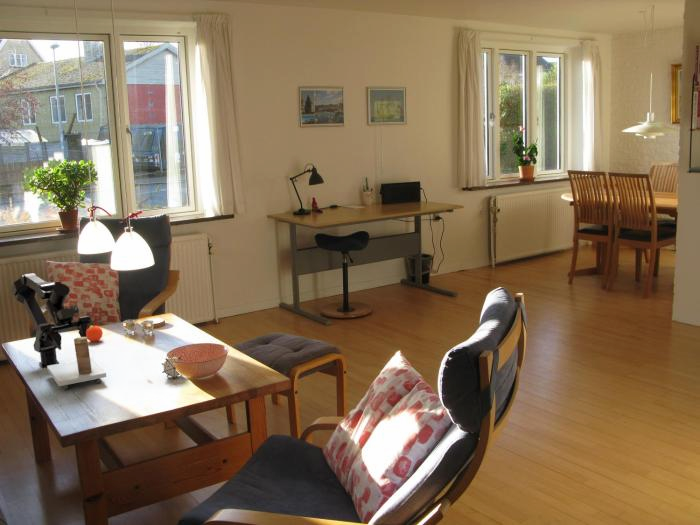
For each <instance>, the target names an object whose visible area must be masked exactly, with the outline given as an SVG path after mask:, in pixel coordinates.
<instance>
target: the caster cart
mask: <svg viewBox="0 0 700 525" xmlns="http://www.w3.org/2000/svg"><path fill="white" fill-rule="evenodd" d="M90 362H91V369H92V372H91V373H88V374H83V375H81V374H79V372H78V365H77V360H72V361H71V360H70V361H67V362H59V364H55V365H49V366H47V367H46V368H47V369H46V370H47V372H48V373H49V374H50V376H51V377H52V379H53V380H54V382H55V383H56V385H57V386H58V387H61V386H62V388H63V391H68V390H69V385H72V384H77V383H83V382H88V381H93V380H95V384H96V385H97V384H101V379H103V378H107V373H106V371H105V370H104V369H103V368H102V367H101V366H100V365H99V364H98V362H96V361H95V359H93V357H90Z"/></svg>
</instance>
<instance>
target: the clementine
mask: <svg viewBox="0 0 700 525" xmlns="http://www.w3.org/2000/svg"><path fill="white" fill-rule="evenodd" d="M86 337H87V340H88V341H90V342H94V343H95V342H98V341H99V340H101V339H102V337H103V330H102V328H101V327H100V326H98V325H90V327H89V329H87V331H86Z"/></svg>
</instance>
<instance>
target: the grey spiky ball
mask: <svg viewBox="0 0 700 525" xmlns="http://www.w3.org/2000/svg"><path fill="white" fill-rule="evenodd" d="M172 355H173V356H174V354H173V353H172V354H171V356H172ZM181 358H182V356H179V357H177V356H174V357H173V358H172V359H171V358H170V357H168V358H167V357H166V358H165V361H164V363H161V365H162V366H163V371H162V372H161V373H162V374H163V373H165V374H166V378H167V377H169V376H170V377H172V378H173V379H174V380H176V378H177V377H178V376H179V375H180V374H179V373H178V372H177V371H176V367H175V365H174V364H173V362H172V361H174V360H175V361H181V360H182V359H181Z"/></svg>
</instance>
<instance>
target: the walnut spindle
mask: <svg viewBox="0 0 700 525" xmlns="http://www.w3.org/2000/svg"><path fill="white" fill-rule="evenodd" d="M73 342H74V343H73V345H74V350H75V351H74V352H75V357H76V361H77V365H78V372H79V374H81V375H83V374H88V373H91V372H92V369H91V362H90V358H91V357H90V356H91V355H90V349H89V340H88V339H87V337H81V336H79V337H76V338H74V339H73Z"/></svg>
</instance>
